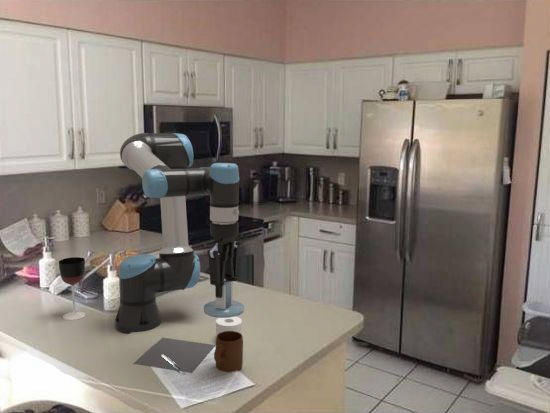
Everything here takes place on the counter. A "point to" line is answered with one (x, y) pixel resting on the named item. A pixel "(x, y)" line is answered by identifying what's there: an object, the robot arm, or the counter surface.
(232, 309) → the lid
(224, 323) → the toilet paper
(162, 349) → the mat
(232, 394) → the counter surface
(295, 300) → the counter surface
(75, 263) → the wineglass
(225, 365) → the mug
